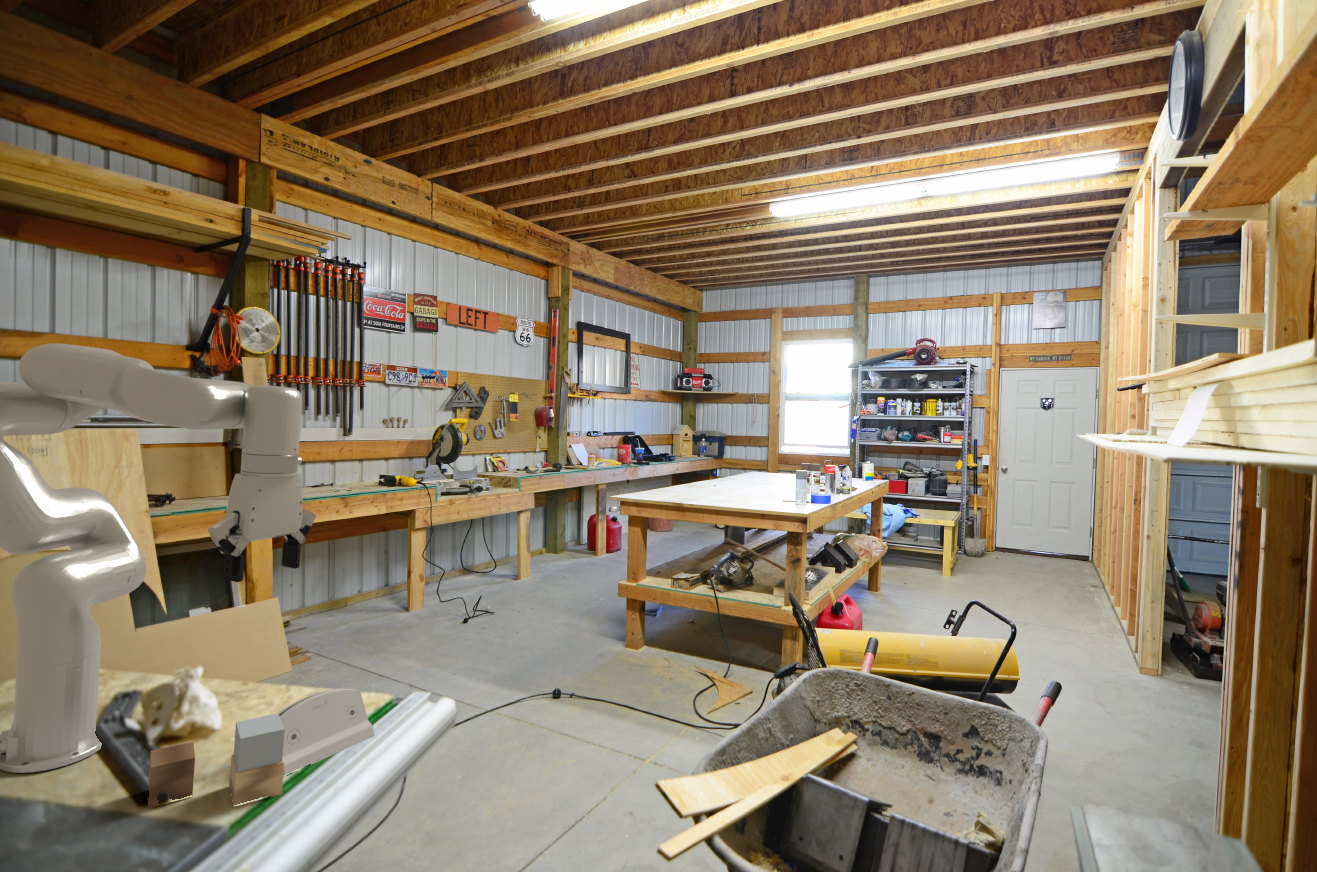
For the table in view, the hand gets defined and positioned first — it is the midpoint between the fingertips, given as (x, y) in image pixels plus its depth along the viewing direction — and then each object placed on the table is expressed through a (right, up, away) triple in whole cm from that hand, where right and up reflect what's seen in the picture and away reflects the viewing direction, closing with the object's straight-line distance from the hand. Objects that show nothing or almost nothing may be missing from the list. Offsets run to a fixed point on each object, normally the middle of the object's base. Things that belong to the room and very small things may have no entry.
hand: (263, 573), depth 97 cm
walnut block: (-10, -31, -6) cm, 33 cm away
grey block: (+2, -27, -4) cm, 27 cm away
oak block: (+1, -32, -4) cm, 32 cm away
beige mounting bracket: (+4, -32, +9) cm, 33 cm away
